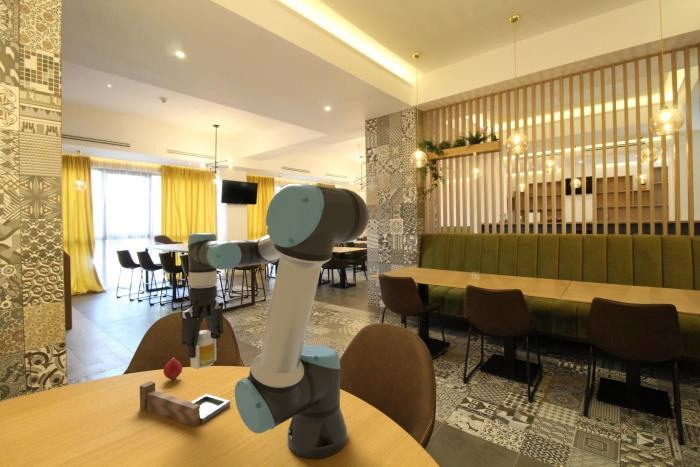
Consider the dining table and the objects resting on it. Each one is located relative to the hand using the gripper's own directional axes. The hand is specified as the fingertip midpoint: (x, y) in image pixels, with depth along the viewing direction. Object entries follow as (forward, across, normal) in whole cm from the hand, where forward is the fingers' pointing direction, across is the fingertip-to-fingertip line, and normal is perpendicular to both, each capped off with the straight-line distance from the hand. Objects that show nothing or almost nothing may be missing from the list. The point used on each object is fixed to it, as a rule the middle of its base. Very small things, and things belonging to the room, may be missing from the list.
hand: (203, 363), depth 97 cm
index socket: (+14, 0, 0) cm, 14 cm away
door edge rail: (+14, +6, -6) cm, 17 cm away
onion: (+14, -9, -26) cm, 31 cm away
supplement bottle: (+1, 0, 0) cm, 1 cm away
